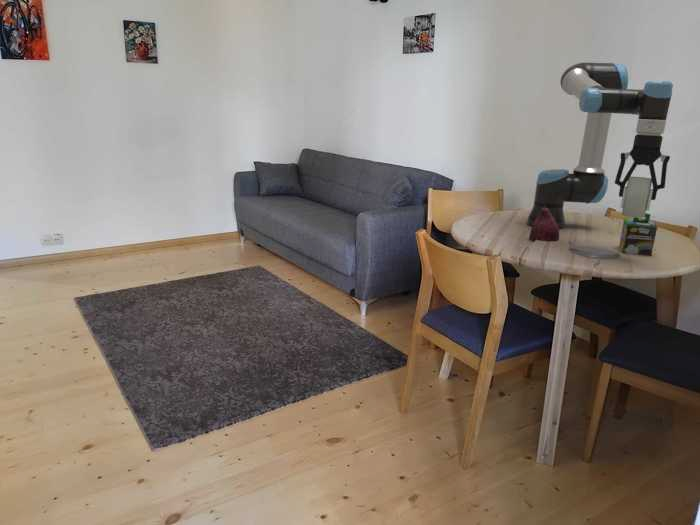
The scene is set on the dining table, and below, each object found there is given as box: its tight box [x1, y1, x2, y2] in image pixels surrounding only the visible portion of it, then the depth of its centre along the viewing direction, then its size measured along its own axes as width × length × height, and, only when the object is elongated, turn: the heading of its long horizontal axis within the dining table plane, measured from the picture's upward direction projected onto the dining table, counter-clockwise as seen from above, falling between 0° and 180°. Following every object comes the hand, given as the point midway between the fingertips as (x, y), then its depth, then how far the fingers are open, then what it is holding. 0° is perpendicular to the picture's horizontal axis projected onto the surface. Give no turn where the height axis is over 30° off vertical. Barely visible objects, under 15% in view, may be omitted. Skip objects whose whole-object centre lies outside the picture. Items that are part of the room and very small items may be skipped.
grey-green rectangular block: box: [621, 176, 652, 219], centre depth 164 cm, size 7×7×12 cm
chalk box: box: [618, 213, 658, 257], centre depth 177 cm, size 9×9×15 cm
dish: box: [568, 245, 621, 260], centre depth 176 cm, size 16×16×1 cm
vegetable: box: [528, 206, 560, 243], centre depth 190 cm, size 10×10×15 cm
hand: (634, 208), depth 165 cm, fingers closed on grey-green rectangular block, 7 cm apart
